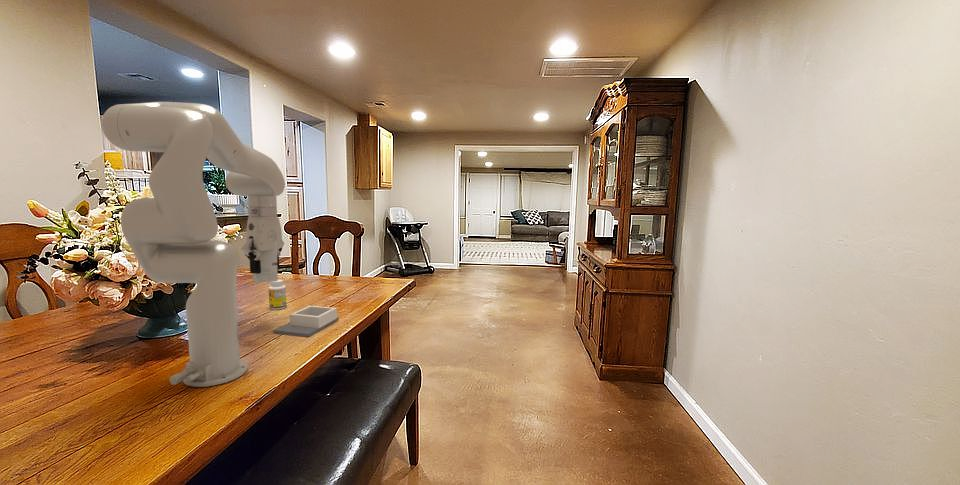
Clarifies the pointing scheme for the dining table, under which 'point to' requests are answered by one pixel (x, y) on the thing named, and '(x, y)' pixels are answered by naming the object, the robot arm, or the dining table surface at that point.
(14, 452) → the dining table surface
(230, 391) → the dining table surface
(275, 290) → the supplement bottle
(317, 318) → the socket holder
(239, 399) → the dining table surface
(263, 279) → the skincare box
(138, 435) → the dining table surface
